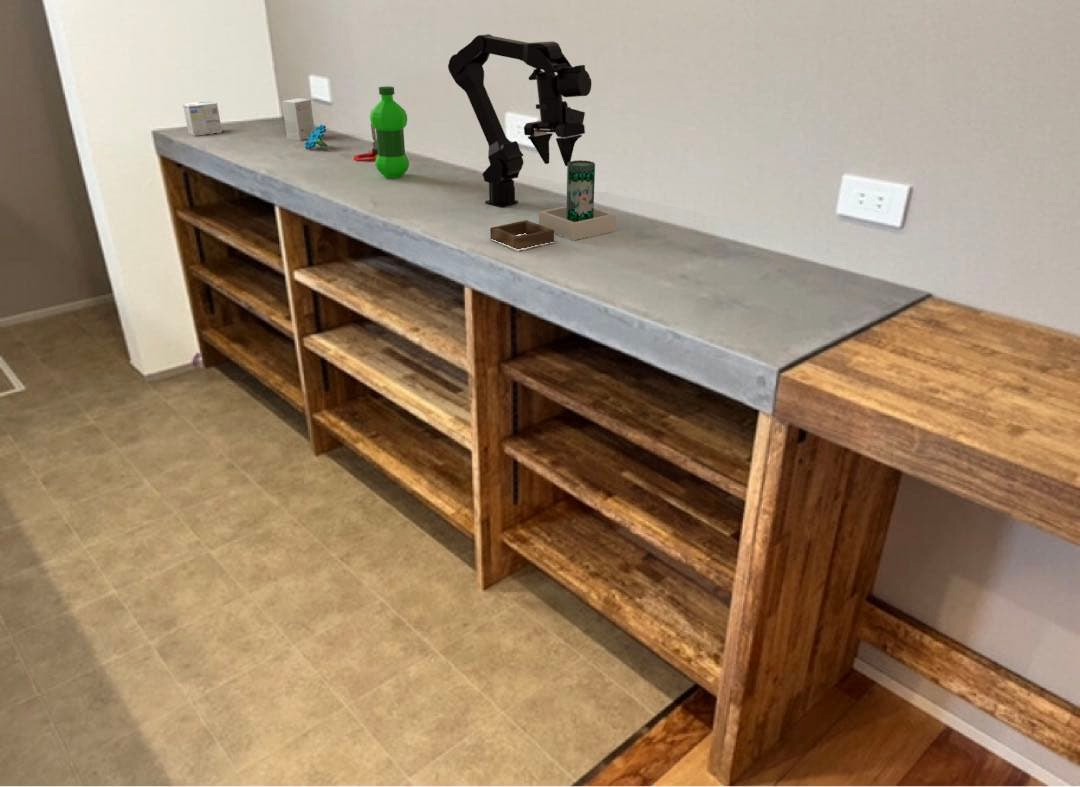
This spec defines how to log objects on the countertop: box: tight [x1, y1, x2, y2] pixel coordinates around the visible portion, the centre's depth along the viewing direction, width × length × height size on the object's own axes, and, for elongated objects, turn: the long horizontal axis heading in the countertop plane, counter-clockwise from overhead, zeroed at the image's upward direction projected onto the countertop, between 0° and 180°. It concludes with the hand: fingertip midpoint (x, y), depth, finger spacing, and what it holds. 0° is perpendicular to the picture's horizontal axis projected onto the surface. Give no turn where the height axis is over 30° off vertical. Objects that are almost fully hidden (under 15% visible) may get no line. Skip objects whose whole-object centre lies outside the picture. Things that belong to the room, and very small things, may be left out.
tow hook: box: [353, 123, 378, 162], centre depth 265 cm, size 8×13×9 cm
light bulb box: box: [182, 100, 223, 137], centre depth 302 cm, size 11×7×11 cm, turn 130°
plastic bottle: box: [369, 85, 410, 179], centre depth 241 cm, size 10×10×25 cm
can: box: [566, 159, 596, 222], centre depth 195 cm, size 6×6×15 cm
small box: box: [281, 97, 315, 141], centre depth 295 cm, size 8×6×13 cm
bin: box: [538, 205, 617, 241], centre depth 198 cm, size 13×13×4 cm
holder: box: [489, 219, 555, 249], centre depth 190 cm, size 10×10×3 cm
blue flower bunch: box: [304, 124, 329, 151], centre depth 281 cm, size 11×6×10 cm
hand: (557, 164), depth 206 cm, fingers open, 9 cm apart
